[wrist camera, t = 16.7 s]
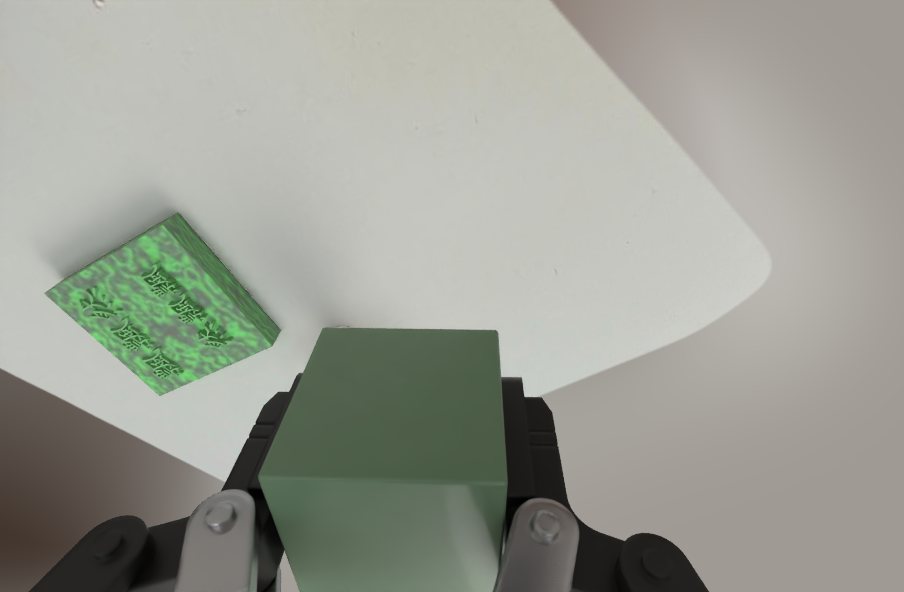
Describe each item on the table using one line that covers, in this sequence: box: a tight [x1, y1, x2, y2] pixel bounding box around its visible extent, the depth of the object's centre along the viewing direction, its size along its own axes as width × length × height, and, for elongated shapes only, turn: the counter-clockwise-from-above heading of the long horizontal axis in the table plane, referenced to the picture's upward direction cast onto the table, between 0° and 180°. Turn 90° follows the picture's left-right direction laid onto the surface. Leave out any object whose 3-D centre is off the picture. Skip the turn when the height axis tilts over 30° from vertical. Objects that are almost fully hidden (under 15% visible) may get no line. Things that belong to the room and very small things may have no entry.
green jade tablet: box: [44, 213, 280, 396], centre depth 37 cm, size 11×12×2 cm
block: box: [258, 328, 508, 592], centre depth 12 cm, size 4×4×4 cm
